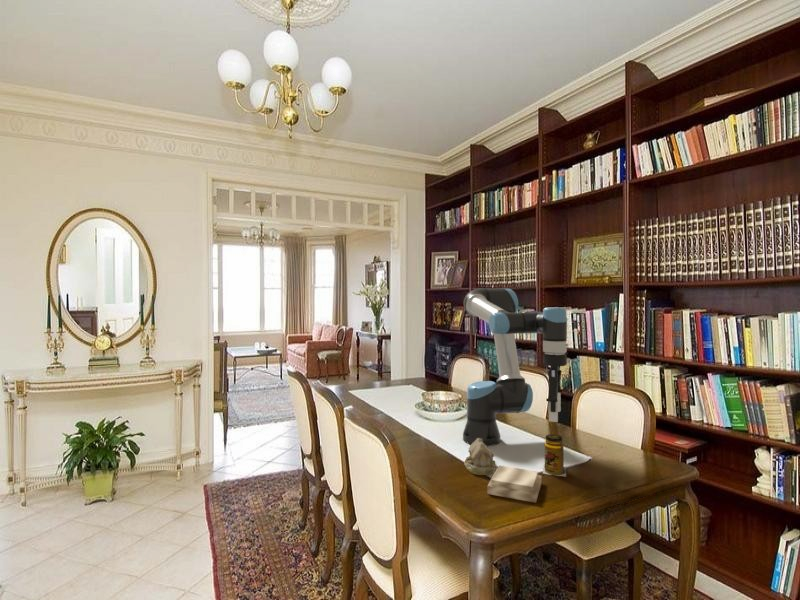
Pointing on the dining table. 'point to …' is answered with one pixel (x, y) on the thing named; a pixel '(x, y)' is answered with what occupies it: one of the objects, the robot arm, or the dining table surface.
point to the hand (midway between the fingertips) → (554, 416)
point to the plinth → (515, 492)
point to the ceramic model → (480, 459)
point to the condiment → (554, 456)
